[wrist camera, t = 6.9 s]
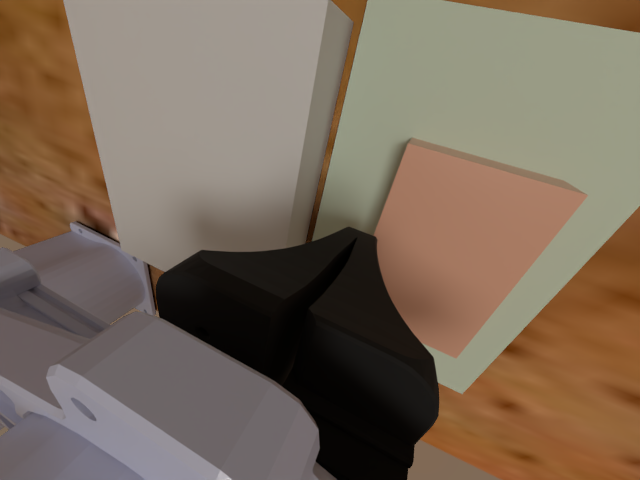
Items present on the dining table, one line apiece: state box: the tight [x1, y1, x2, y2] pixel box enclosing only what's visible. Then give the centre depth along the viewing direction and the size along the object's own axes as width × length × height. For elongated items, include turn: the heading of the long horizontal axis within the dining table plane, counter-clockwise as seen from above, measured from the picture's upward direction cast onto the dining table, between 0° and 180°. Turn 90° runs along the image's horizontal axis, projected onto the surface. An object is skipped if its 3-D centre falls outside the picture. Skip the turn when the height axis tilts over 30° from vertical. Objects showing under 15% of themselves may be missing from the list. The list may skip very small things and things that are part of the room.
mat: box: [312, 0, 640, 394], centre depth 13 cm, size 12×18×1 cm, turn 167°
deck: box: [63, 0, 354, 272], centre depth 15 cm, size 13×16×3 cm
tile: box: [373, 138, 588, 358], centre depth 12 cm, size 6×9×2 cm, turn 167°
